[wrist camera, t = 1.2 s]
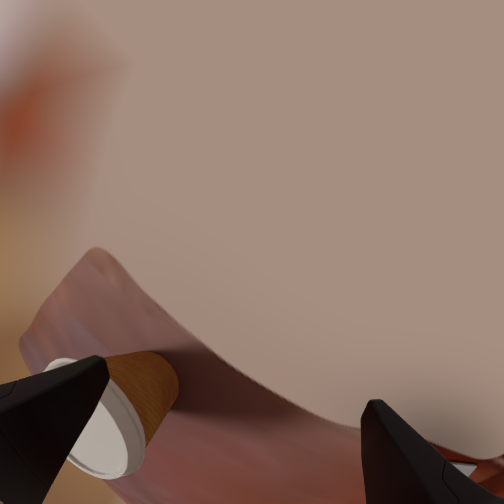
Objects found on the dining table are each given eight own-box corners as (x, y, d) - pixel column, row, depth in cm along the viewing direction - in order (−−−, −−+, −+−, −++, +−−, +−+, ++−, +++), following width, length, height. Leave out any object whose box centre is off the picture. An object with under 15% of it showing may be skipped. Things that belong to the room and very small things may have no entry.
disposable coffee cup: (133, 315, 25) (43, 331, 13) (213, 374, 23) (157, 439, 11) (101, 381, 24) (25, 416, 13) (170, 436, 23) (113, 501, 11)
